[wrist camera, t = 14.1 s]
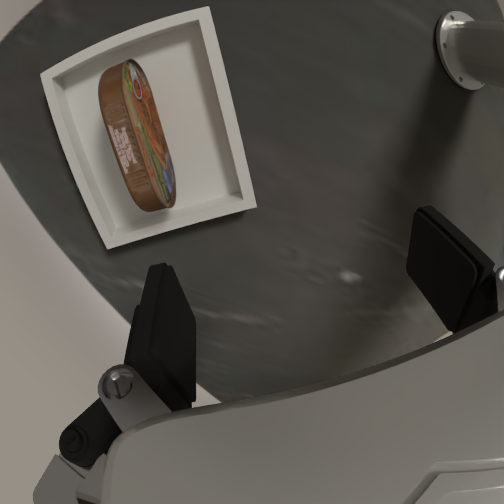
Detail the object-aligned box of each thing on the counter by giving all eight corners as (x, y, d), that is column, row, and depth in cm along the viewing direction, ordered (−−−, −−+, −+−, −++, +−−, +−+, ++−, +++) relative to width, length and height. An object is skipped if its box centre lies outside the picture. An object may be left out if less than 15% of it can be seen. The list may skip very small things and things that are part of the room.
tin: (180, 188, 32) (174, 222, 25) (154, 195, 32) (141, 231, 25) (144, 60, 23) (123, 52, 16) (116, 70, 23) (86, 68, 16)
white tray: (208, 13, 22) (208, 6, 19) (252, 195, 34) (256, 206, 32) (53, 73, 22) (40, 74, 19) (113, 235, 34) (107, 249, 31)
